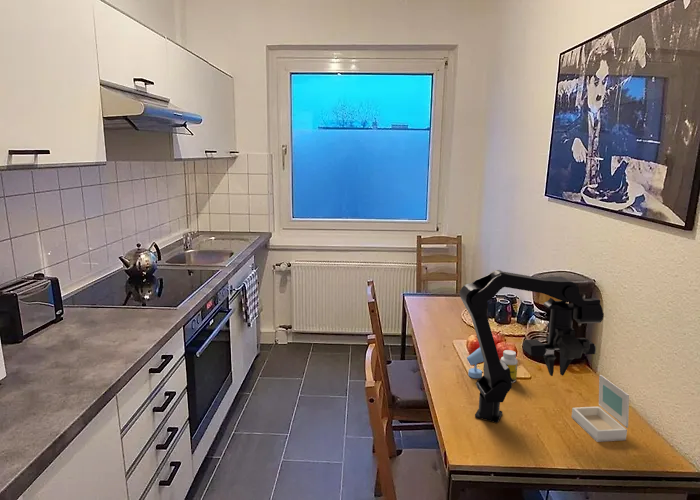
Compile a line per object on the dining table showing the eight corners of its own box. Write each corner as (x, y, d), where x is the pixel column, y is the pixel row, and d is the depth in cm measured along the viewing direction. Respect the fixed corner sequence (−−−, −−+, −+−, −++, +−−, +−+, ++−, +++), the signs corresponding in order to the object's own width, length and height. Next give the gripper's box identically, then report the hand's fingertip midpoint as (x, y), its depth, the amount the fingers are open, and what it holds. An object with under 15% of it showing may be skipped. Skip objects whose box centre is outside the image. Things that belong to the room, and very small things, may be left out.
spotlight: (482, 371, 164) (463, 372, 163) (484, 344, 162) (465, 345, 161) (489, 377, 159) (469, 379, 158) (490, 349, 158) (471, 351, 156)
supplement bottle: (497, 381, 157) (499, 353, 155) (500, 374, 162) (502, 347, 160) (514, 384, 154) (516, 356, 153) (517, 378, 159) (519, 350, 157)
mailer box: (596, 441, 123) (597, 431, 123) (571, 417, 135) (572, 407, 134) (625, 440, 124) (627, 429, 123) (598, 416, 136) (599, 406, 135)
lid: (626, 395, 121) (629, 394, 122) (598, 374, 133) (601, 374, 133) (625, 428, 123) (628, 427, 123) (598, 405, 135) (600, 404, 135)
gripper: (543, 334, 123) (538, 390, 126) (611, 332, 124) (605, 387, 127) (523, 320, 134) (520, 371, 137) (586, 318, 135) (581, 369, 138)
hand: (556, 375), depth 134 cm, fingers open, 3 cm apart
